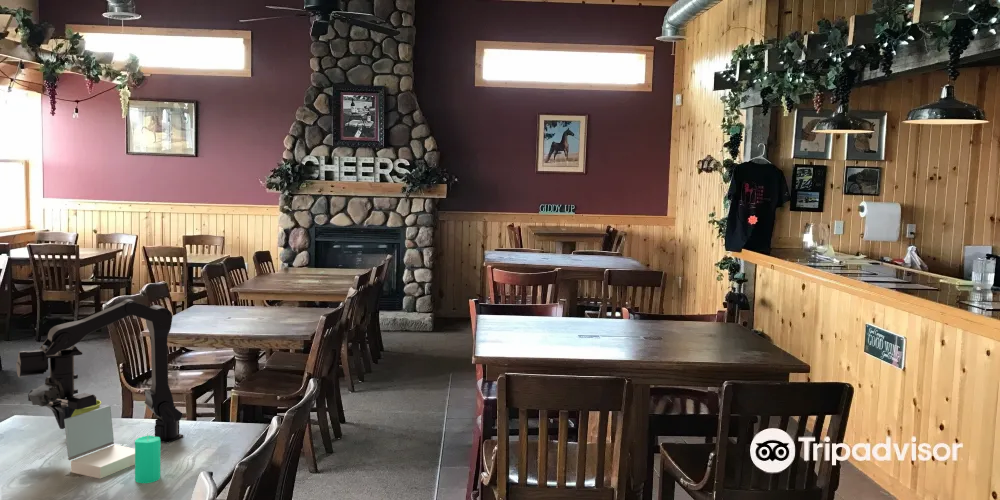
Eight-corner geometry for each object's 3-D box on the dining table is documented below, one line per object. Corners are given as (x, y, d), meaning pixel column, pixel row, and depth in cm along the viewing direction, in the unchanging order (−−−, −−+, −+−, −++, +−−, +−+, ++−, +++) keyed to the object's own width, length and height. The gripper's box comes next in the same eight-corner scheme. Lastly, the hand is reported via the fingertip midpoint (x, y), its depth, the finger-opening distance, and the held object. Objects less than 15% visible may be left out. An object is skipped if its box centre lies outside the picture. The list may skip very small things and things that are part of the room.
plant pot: (108, 429, 234) (108, 401, 234) (82, 438, 226) (82, 409, 225) (85, 425, 237) (84, 397, 237) (58, 433, 229) (58, 405, 228)
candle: (150, 484, 194) (150, 438, 193) (129, 481, 196) (129, 435, 195) (165, 475, 200) (165, 431, 199) (145, 473, 201) (145, 428, 200)
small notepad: (114, 455, 213) (114, 444, 213) (142, 461, 210) (142, 450, 210) (71, 472, 200) (71, 461, 200) (100, 478, 197) (100, 467, 197)
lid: (114, 444, 213) (111, 444, 213) (110, 405, 213) (108, 405, 213) (70, 460, 200) (68, 460, 200) (66, 419, 199) (64, 419, 200)
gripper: (9, 374, 204) (10, 432, 205) (61, 383, 198) (62, 442, 199) (46, 365, 214) (47, 420, 216) (97, 373, 208) (98, 430, 210)
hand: (62, 428), depth 210 cm, fingers closed
